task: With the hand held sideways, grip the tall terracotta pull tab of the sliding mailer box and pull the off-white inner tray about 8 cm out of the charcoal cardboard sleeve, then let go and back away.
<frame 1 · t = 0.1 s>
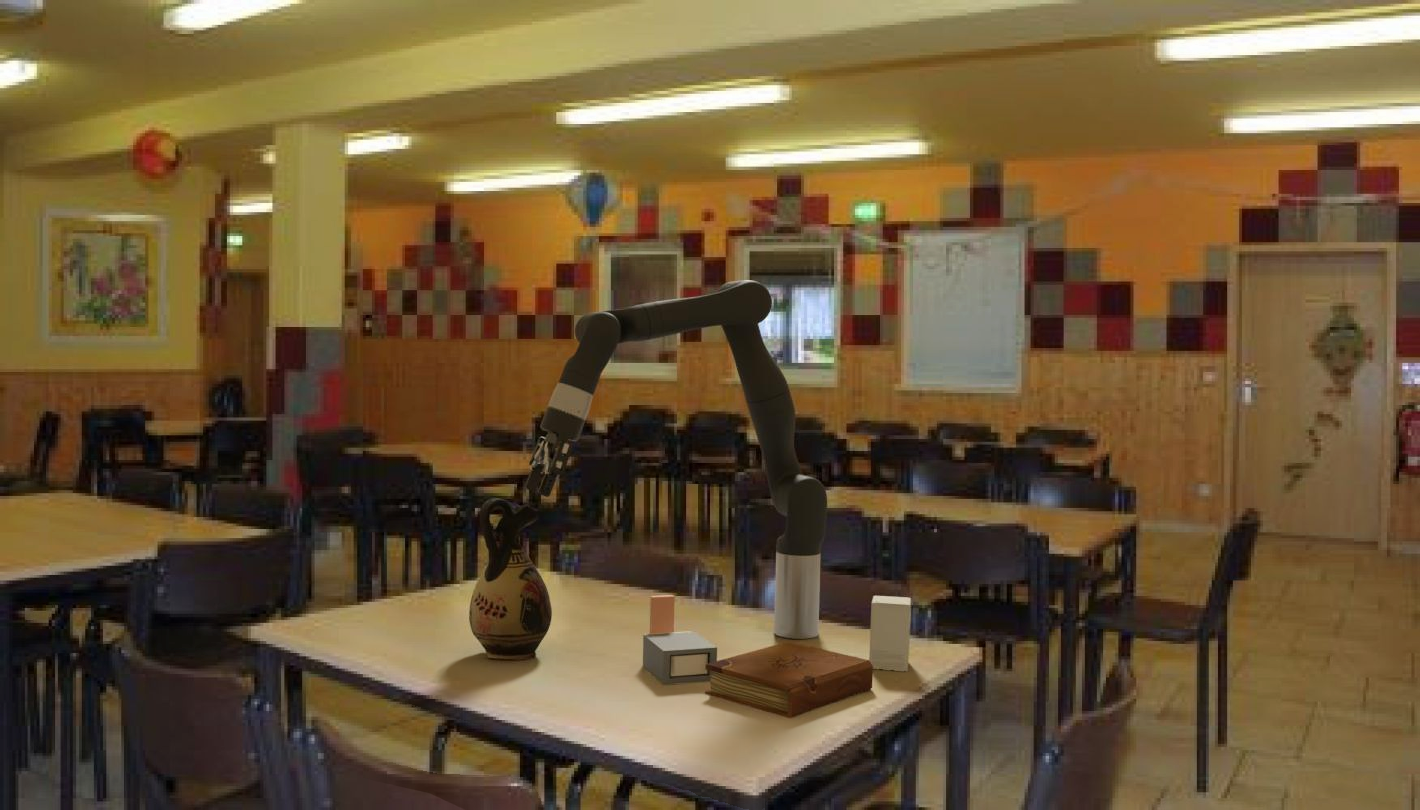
hand: (536, 492, 217), 31 cm above the table, tool tilted 20°, fingers open, 8 cm apart
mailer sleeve: (678, 673, 211), on the table
ceramic jug: (506, 656, 220), on the table
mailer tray: (674, 636, 213), point 6 cm above the table, slide at 0.0 cm
diary: (789, 695, 201), on the table
supplement box: (889, 666, 220), on the table
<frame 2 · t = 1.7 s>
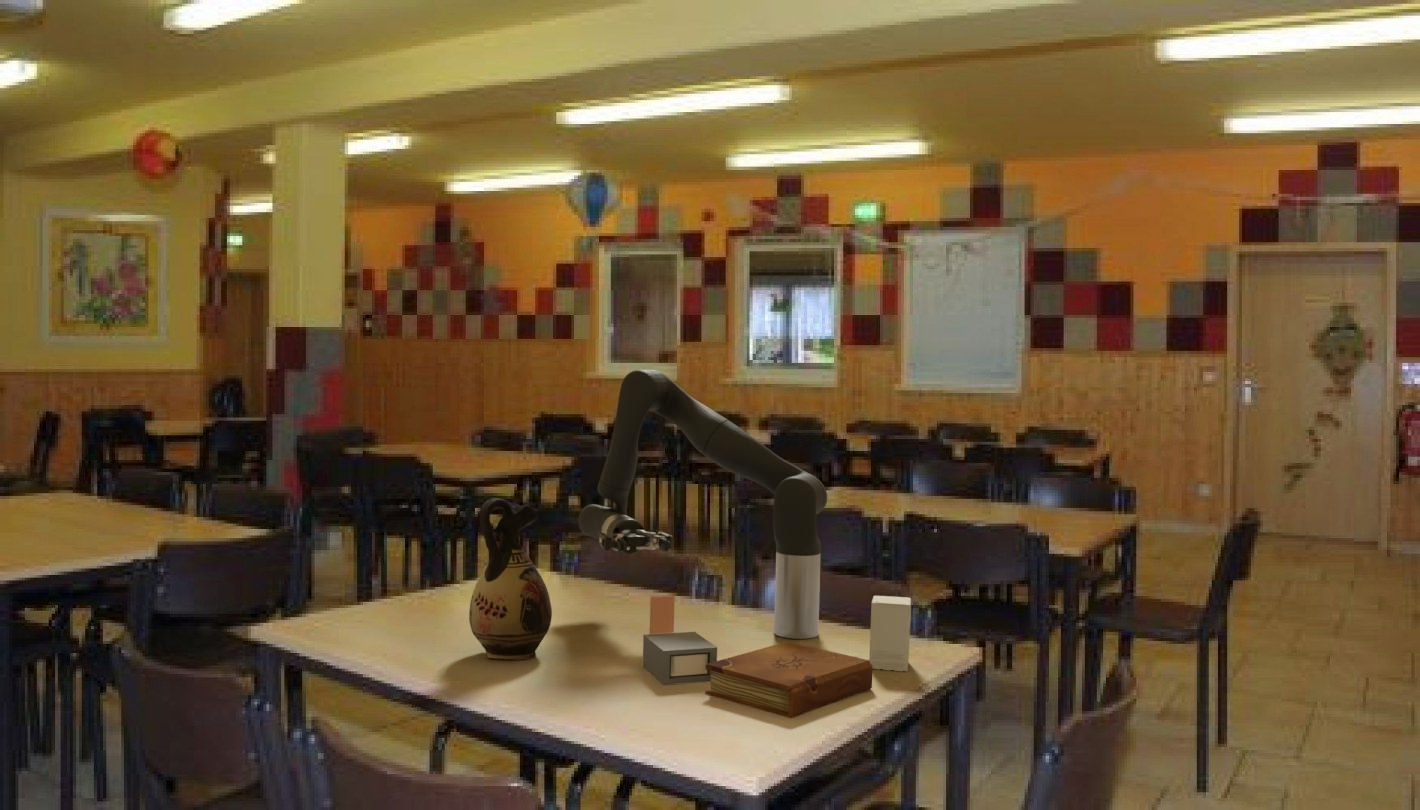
hand: (646, 547, 230), 20 cm above the table, tool horizontal, fingers open, 8 cm apart
nothing on the table moved.
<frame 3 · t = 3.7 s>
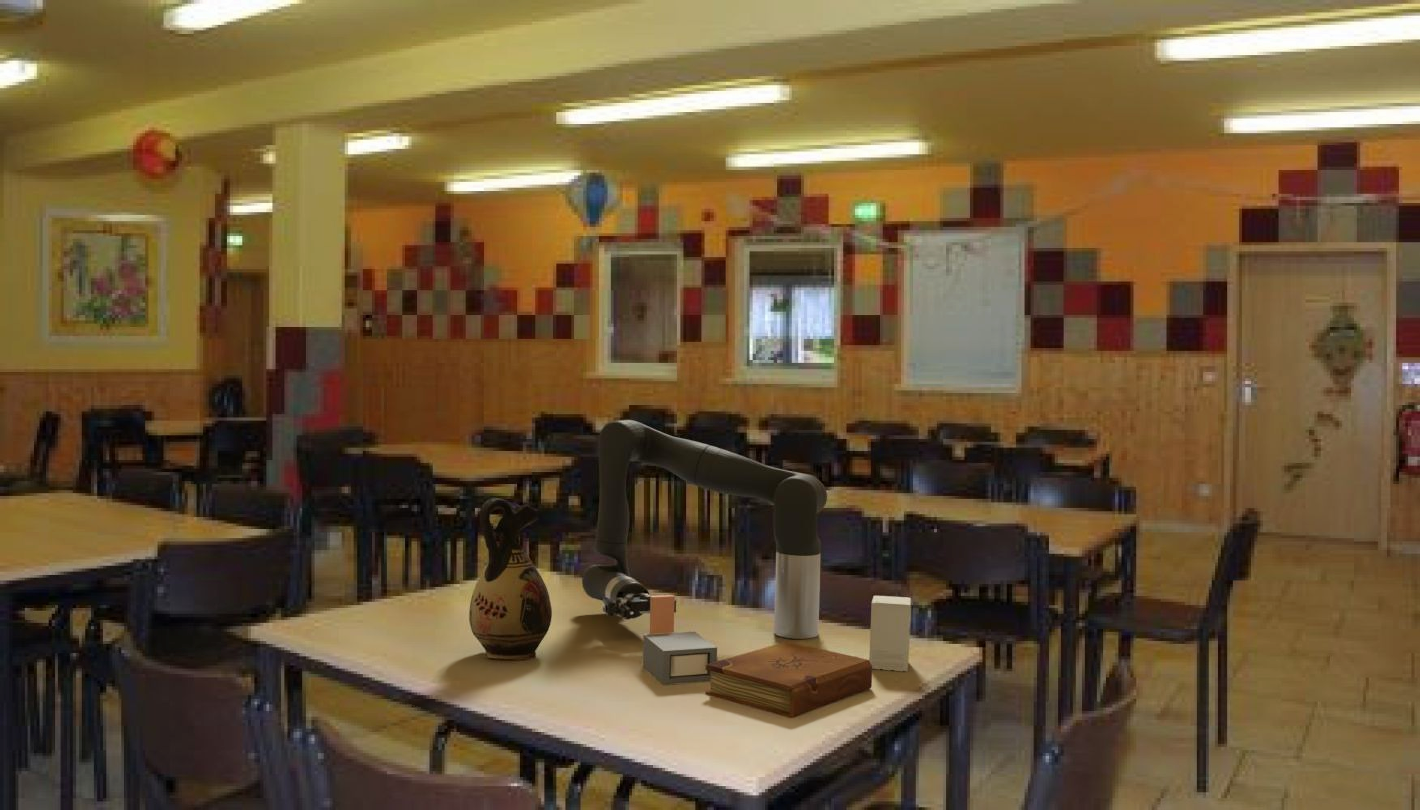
hand: (649, 613, 227), 7 cm above the table, tool horizontal, fingers open, 8 cm apart
nothing on the table moved.
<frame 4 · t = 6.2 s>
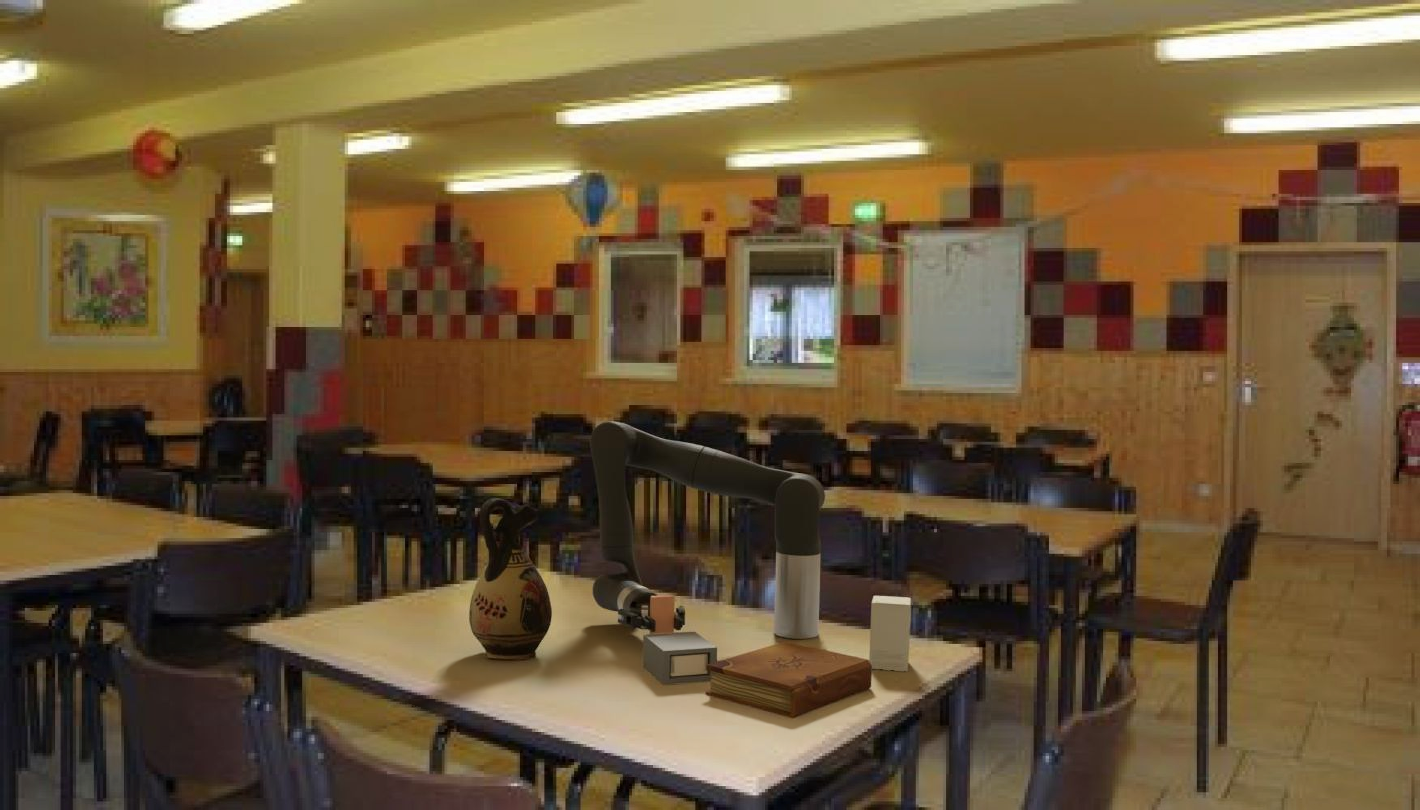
hand: (666, 625, 218), 7 cm above the table, tool horizontal, fingers closed on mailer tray, 4 cm apart
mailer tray: (674, 636, 213), point 6 cm above the table, slide at 0.0 cm, touching gripper
everything else where it was.
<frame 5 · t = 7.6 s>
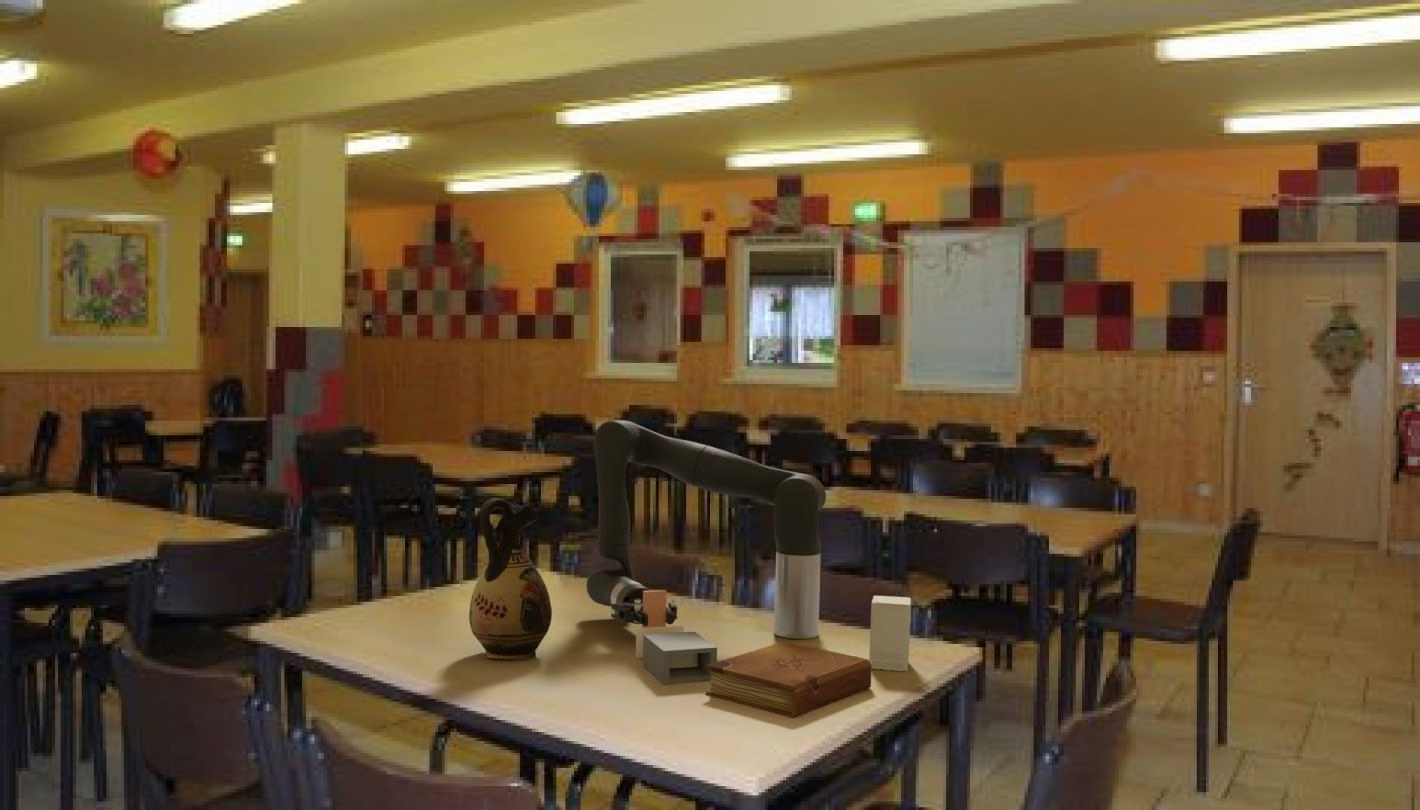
hand: (658, 619, 222), 7 cm above the table, tool horizontal, fingers closed on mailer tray, 4 cm apart
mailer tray: (666, 630, 217), point 6 cm above the table, slide at 4.8 cm, touching gripper
everything else where it was.
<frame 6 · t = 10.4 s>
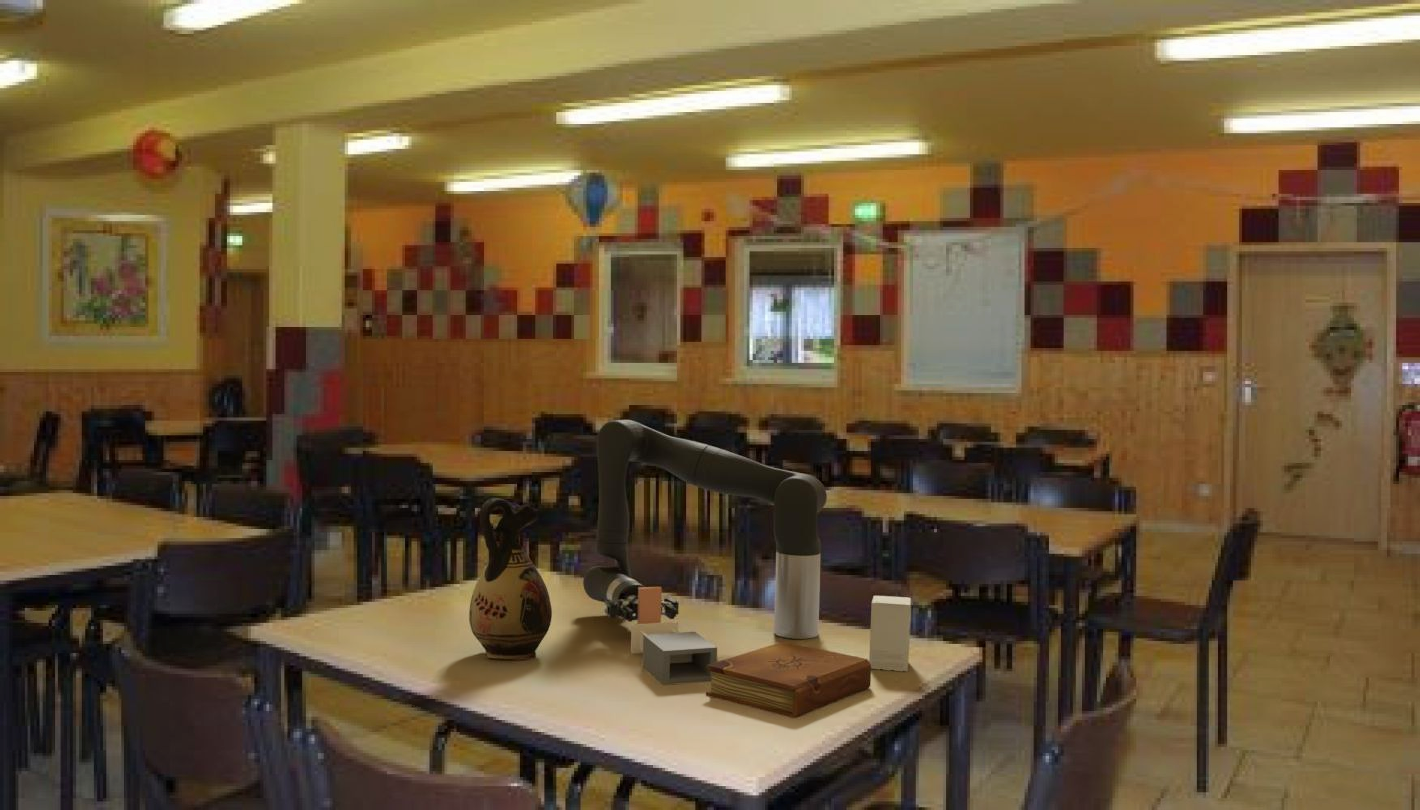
hand: (652, 615, 226), 7 cm above the table, tool horizontal, fingers open, 8 cm apart
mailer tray: (661, 626, 220), point 6 cm above the table, slide at 8.0 cm
everything else where it was.
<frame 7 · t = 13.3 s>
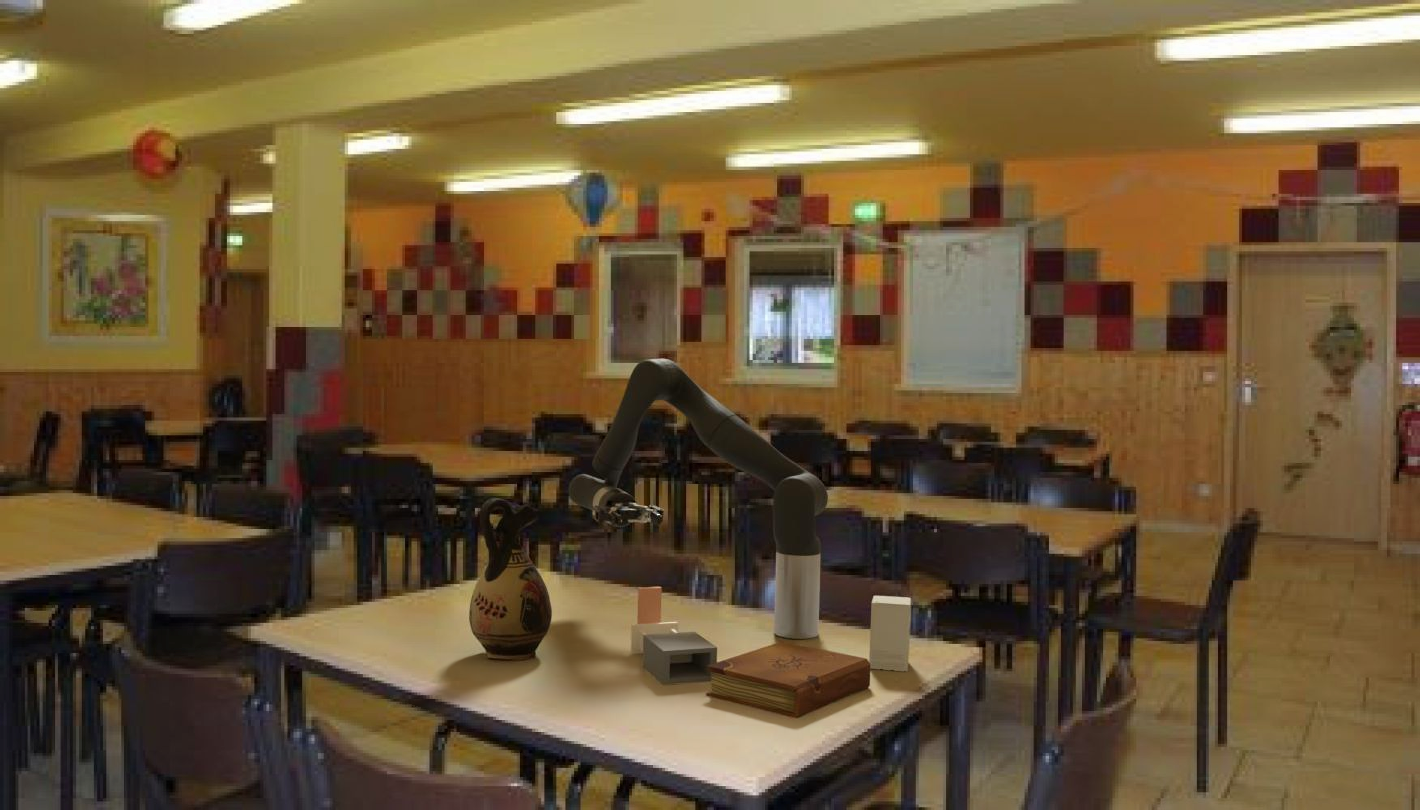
hand: (639, 520, 237), 24 cm above the table, tool horizontal, fingers open, 8 cm apart
nothing on the table moved.
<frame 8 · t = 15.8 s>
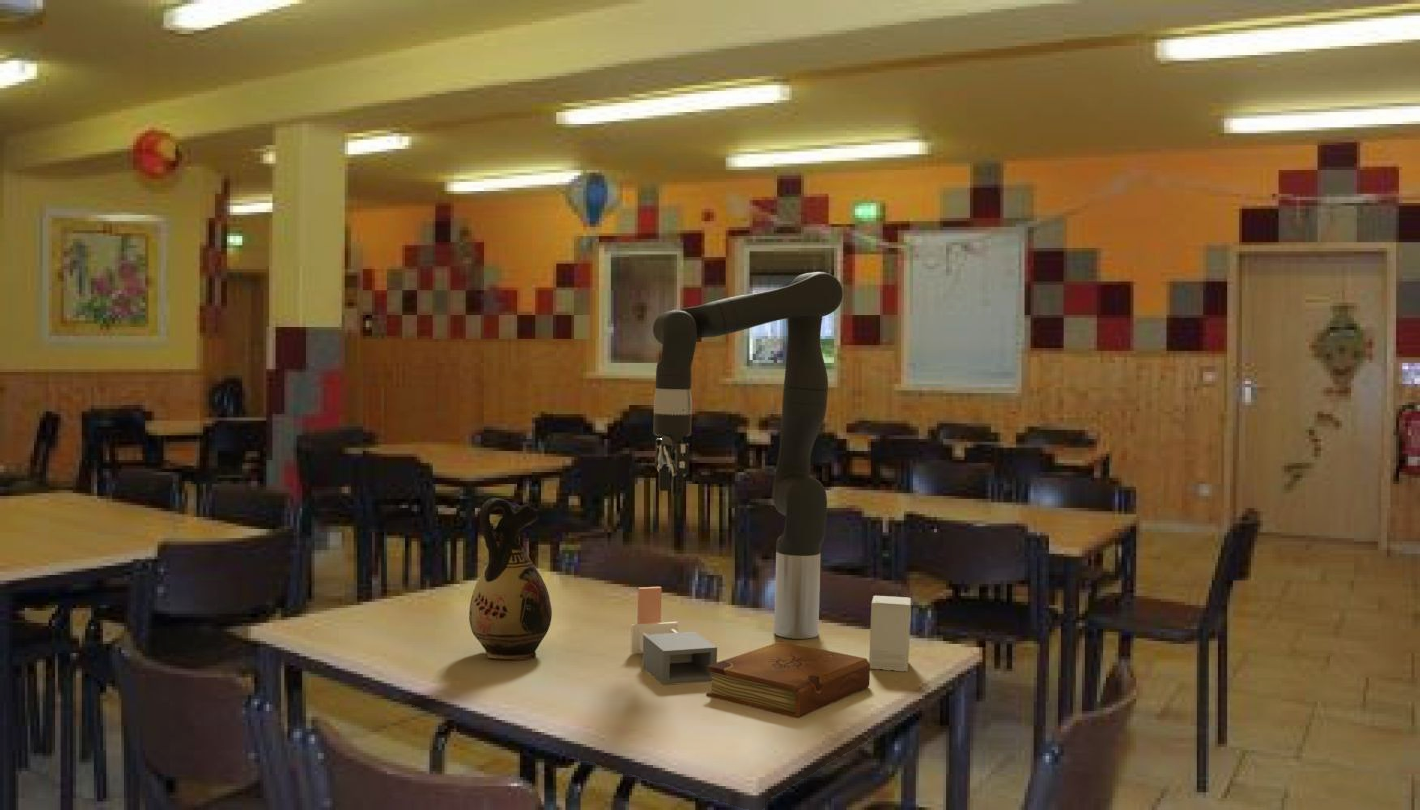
hand: (670, 493, 232), 30 cm above the table, tool pointing down, fingers open, 8 cm apart
nothing on the table moved.
at the end: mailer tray slide at 8.0 cm; the gripper is holding nothing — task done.
